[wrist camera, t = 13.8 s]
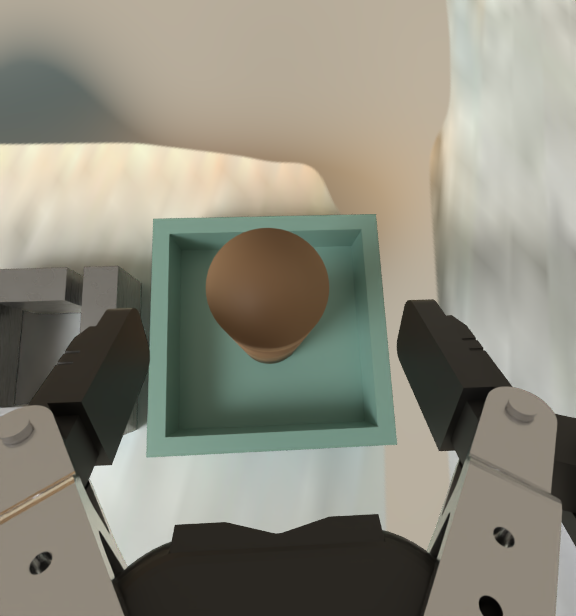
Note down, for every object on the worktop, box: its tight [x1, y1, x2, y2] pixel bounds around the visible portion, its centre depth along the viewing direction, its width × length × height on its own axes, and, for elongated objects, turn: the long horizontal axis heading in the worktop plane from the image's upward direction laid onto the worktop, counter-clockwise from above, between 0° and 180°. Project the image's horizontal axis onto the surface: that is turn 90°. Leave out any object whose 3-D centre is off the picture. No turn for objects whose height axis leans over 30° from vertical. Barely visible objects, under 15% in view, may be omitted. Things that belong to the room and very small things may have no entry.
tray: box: [146, 214, 397, 457], centre depth 24 cm, size 14×14×4 cm
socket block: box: [0, 266, 142, 435], centre depth 23 cm, size 10×10×4 cm
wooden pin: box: [206, 228, 329, 364], centre depth 18 cm, size 4×4×13 cm
